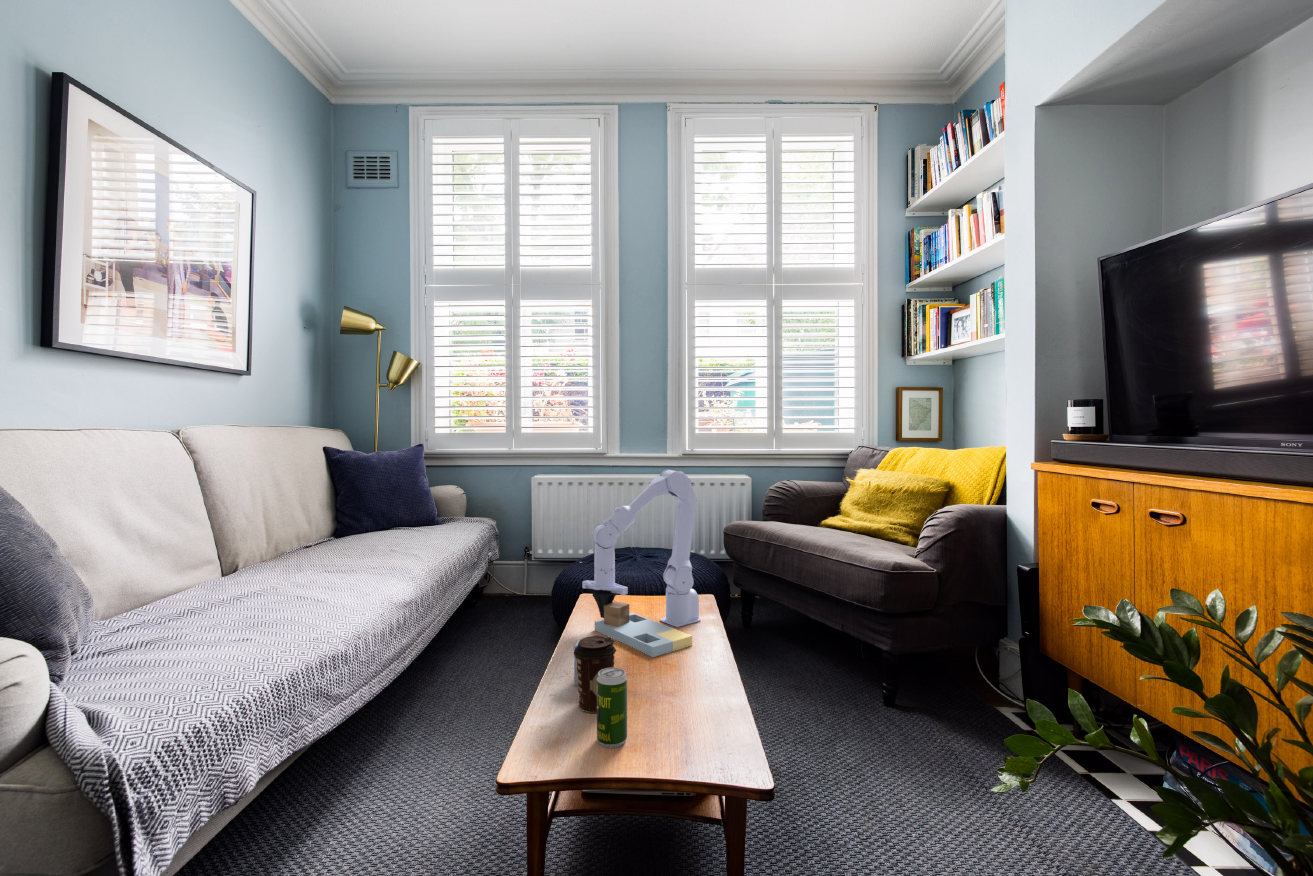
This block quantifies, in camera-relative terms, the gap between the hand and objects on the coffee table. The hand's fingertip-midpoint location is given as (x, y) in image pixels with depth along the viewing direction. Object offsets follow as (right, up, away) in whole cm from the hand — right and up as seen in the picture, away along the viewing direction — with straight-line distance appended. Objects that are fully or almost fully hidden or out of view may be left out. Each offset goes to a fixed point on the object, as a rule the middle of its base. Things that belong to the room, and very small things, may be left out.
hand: (604, 617), depth 163 cm
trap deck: (+10, -3, -7) cm, 13 cm away
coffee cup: (+2, -4, -47) cm, 47 cm away
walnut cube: (+3, -1, -2) cm, 4 cm away
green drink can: (+7, -4, -60) cm, 61 cm away
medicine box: (+1, -4, -35) cm, 36 cm away
